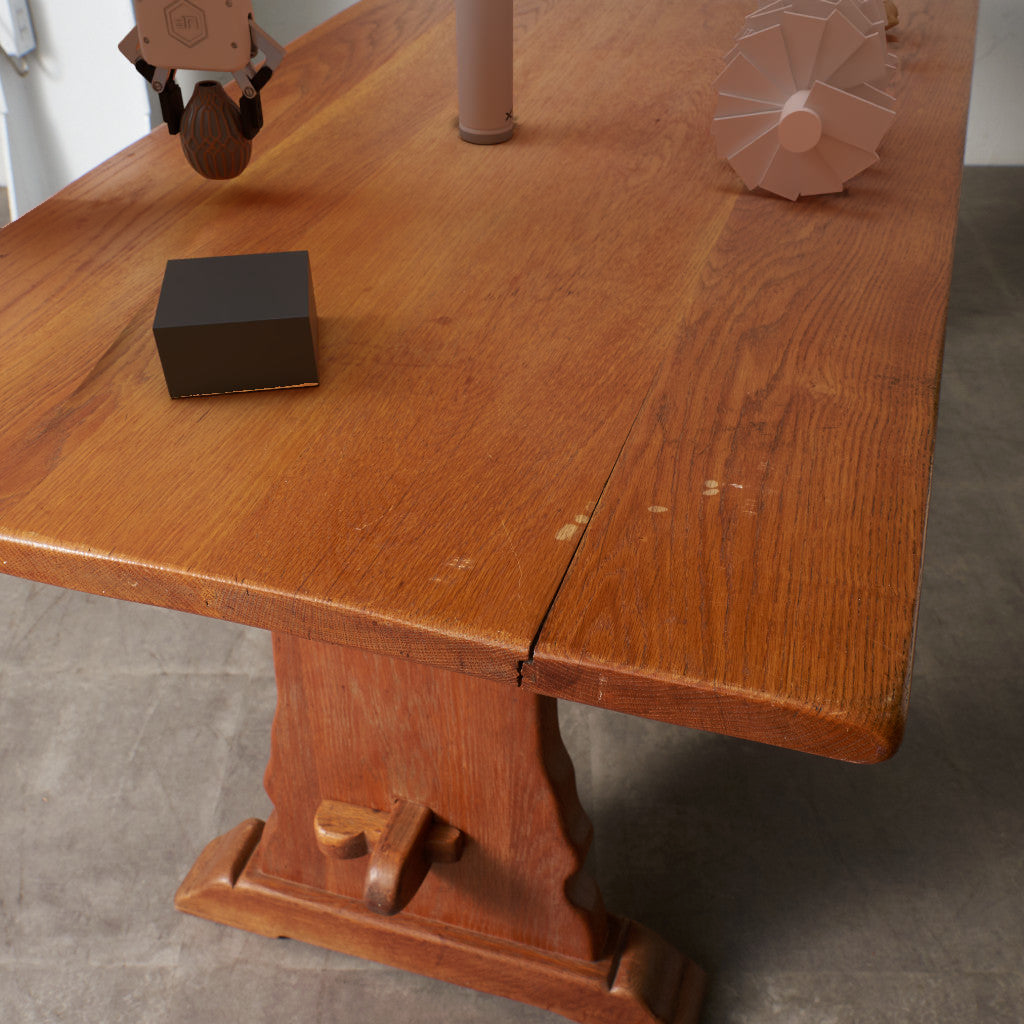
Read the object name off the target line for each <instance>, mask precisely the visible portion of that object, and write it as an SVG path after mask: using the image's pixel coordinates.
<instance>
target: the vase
mask: <svg viewBox="0 0 1024 1024" xmlns="http://www.w3.org/2000/svg"><path fill="white" fill-rule="evenodd" d="M179 131H180V132H179V141H180V145H181V149H182V152H183V154H184V157H185V159H186V160H187V162H188V164H189V165H190V167H191V168H192V169H193V170H194V171H195V172H196V173H198V174H199V175H200V176H201V177H202V178H204V179H207V180H211V181H227V180H232V179H235V178H237V177H239V176H241V174H243V173H244V171H245V170H246V169H247V167H248V165H249V164H250V162H251V159H252V153H253V139H252V140H246V138H244V134H243V127H242V120H241V113H240V106H239V104H238V103H236V101H235V100H234V99H233V98H232V97H231V96H230V95H229V94H228V93H227V92H226V90H225V89H224V86H223V85H222V83H221V82H220V81H218V80H213V79H205V80H199V81H197V82H196V83H195V84H194V87H193V92H192V95H191V96H190V98H189V100H188V101H187V103H186V106H184V110H183V113H182V116H181V120H180V130H179Z"/></svg>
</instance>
